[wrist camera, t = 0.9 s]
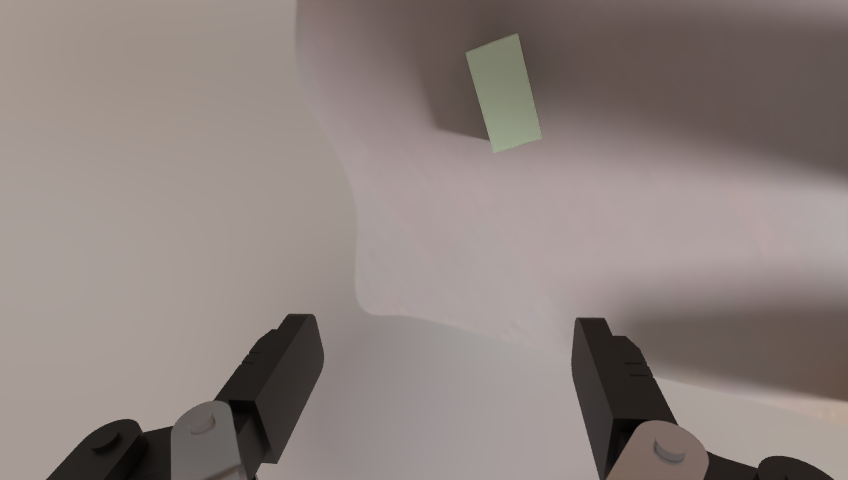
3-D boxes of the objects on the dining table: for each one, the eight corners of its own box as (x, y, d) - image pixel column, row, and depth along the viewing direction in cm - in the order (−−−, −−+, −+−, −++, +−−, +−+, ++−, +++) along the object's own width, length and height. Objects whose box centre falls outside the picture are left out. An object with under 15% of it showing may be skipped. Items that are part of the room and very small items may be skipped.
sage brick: (466, 51, 26) (465, 53, 23) (512, 34, 26) (517, 33, 23) (491, 140, 29) (493, 153, 26) (534, 126, 28) (542, 138, 25)
